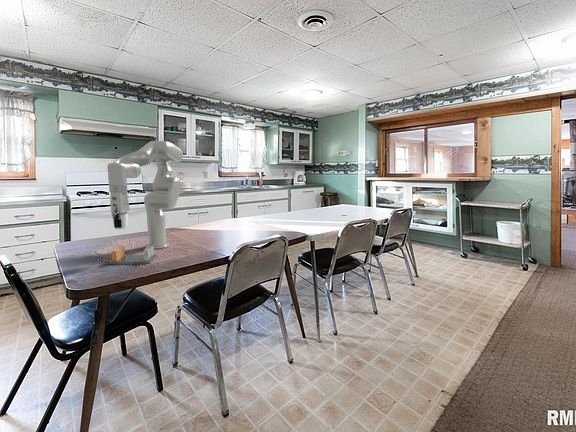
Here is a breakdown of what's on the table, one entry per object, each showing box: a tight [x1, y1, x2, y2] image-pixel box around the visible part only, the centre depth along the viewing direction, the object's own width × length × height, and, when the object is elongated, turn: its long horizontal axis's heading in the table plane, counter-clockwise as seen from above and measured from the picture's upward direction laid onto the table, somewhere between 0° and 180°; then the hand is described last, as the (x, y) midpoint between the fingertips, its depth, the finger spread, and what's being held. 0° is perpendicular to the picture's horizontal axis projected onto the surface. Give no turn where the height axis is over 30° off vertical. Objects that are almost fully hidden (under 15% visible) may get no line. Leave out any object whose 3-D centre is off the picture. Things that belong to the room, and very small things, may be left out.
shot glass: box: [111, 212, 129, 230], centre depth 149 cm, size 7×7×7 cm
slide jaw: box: [111, 245, 126, 262], centre depth 150 cm, size 2×10×5 cm, turn 8°
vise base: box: [108, 246, 158, 266], centre depth 151 cm, size 18×12×6 cm, turn 98°
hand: (121, 226), depth 149 cm, fingers closed on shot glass, 5 cm apart
